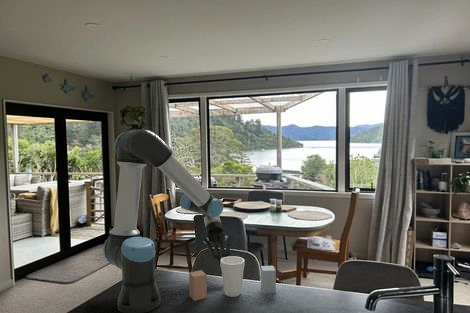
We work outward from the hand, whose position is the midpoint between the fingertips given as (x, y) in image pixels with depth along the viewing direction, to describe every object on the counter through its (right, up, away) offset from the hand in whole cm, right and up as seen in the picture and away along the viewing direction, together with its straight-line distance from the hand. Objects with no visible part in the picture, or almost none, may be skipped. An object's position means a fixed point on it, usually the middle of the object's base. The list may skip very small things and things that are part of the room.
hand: (225, 273), depth 136 cm
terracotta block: (-10, -5, -11) cm, 16 cm away
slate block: (+17, -5, -6) cm, 19 cm away
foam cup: (+3, -5, -8) cm, 10 cm away
